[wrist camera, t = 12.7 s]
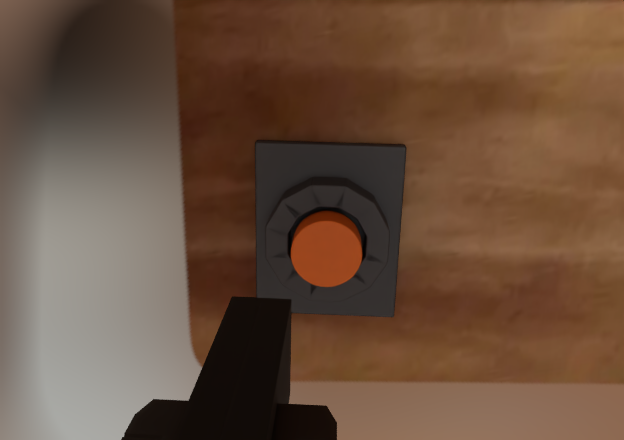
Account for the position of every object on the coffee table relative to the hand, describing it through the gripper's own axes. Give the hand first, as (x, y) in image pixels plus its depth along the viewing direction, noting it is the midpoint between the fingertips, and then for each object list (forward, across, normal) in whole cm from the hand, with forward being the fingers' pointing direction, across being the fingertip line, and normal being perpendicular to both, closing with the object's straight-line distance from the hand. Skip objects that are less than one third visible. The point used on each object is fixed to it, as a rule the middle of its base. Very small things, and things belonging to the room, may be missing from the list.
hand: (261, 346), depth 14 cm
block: (+18, +2, -3) cm, 18 cm away
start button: (+15, +1, -3) cm, 16 cm away
